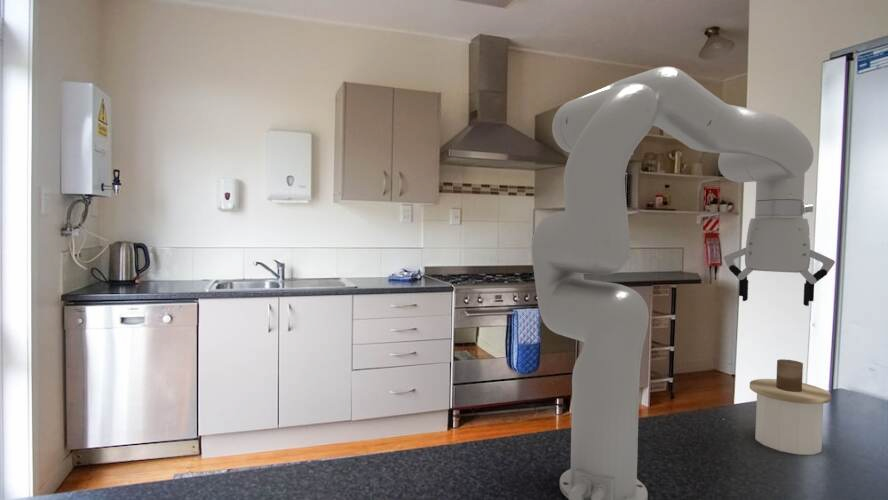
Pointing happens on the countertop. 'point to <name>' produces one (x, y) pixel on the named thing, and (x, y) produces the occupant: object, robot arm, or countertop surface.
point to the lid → (790, 385)
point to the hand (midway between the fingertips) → (774, 302)
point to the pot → (789, 425)
